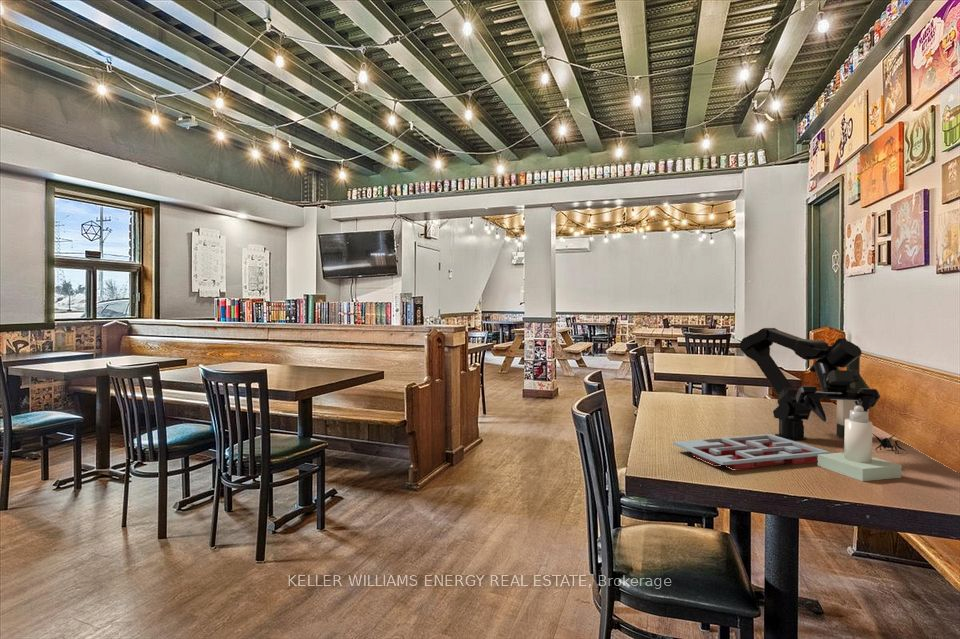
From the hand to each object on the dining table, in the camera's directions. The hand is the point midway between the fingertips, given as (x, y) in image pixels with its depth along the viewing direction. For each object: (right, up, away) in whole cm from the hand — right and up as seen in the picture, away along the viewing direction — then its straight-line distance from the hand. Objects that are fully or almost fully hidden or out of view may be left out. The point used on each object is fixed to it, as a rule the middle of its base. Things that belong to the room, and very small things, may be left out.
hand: (844, 422), depth 130 cm
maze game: (-23, -12, +6) cm, 26 cm away
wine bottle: (+22, -11, +26) cm, 36 cm away
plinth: (-2, -11, -7) cm, 13 cm away
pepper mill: (-2, -8, -7) cm, 11 cm away
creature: (+20, -11, +9) cm, 25 cm away
